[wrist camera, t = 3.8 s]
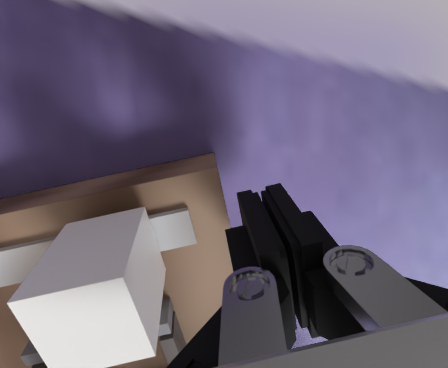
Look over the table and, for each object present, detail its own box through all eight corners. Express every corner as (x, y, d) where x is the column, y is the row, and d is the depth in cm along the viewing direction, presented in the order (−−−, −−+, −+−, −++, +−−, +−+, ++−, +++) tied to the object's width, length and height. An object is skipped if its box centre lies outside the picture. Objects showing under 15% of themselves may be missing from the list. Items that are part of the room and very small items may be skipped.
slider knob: (144, 206, 11) (122, 277, 8) (165, 269, 13) (155, 356, 9) (66, 223, 11) (6, 303, 8) (94, 285, 13) (55, 379, 9)
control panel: (213, 152, 14) (221, 181, 10) (254, 338, 18) (267, 398, 15) (-257, 254, 13) (-402, 318, 10) (-92, 417, 18) (-153, 496, 15)
